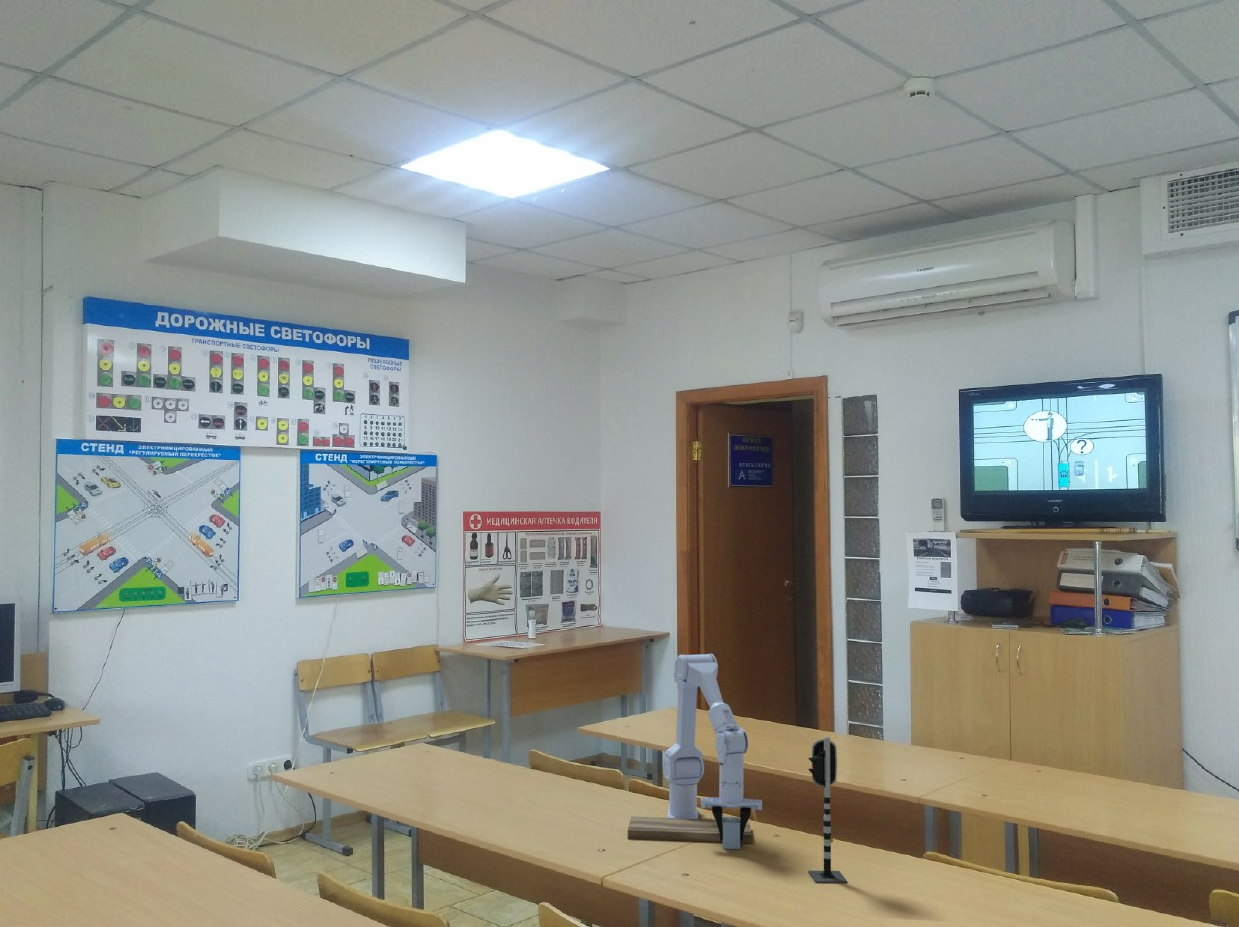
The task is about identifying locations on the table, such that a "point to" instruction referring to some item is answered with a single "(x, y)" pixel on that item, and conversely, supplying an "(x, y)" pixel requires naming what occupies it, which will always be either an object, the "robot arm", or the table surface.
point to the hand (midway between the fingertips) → (731, 839)
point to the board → (679, 829)
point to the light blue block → (731, 833)
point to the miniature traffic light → (825, 802)
